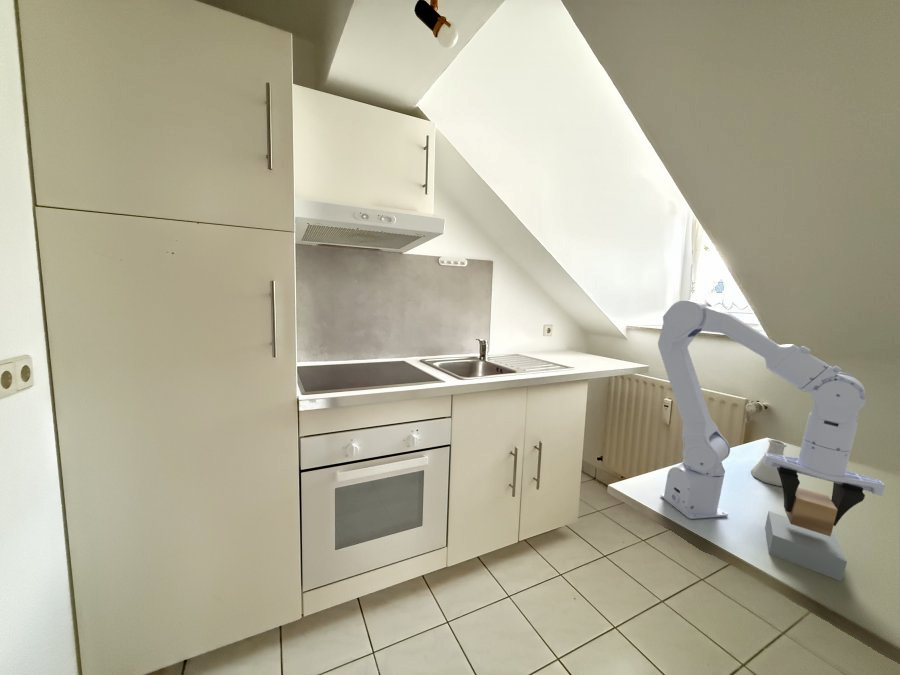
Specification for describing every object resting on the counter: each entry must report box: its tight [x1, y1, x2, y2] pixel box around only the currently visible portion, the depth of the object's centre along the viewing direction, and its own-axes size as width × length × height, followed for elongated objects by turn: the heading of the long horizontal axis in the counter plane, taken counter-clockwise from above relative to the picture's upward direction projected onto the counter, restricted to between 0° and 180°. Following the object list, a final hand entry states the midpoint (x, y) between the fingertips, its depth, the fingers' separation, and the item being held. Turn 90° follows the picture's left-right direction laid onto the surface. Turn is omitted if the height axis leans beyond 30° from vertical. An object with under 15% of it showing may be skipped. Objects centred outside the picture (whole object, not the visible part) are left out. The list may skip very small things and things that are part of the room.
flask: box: [750, 439, 787, 487], centre depth 89 cm, size 7×7×10 cm
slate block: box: [764, 510, 848, 582], centre depth 64 cm, size 9×9×4 cm
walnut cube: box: [784, 487, 837, 537], centre depth 63 cm, size 5×5×5 cm
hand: (808, 515), depth 63 cm, fingers closed on walnut cube, 5 cm apart
